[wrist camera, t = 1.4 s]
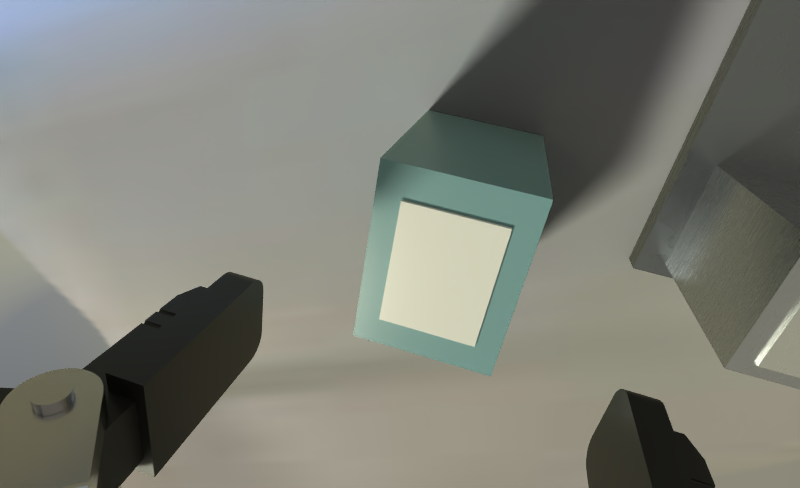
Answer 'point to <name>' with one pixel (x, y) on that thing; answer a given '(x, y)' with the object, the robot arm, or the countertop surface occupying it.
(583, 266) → the countertop surface
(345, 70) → the countertop surface
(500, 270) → the block
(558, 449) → the countertop surface
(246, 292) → the robot arm
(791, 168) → the rail
